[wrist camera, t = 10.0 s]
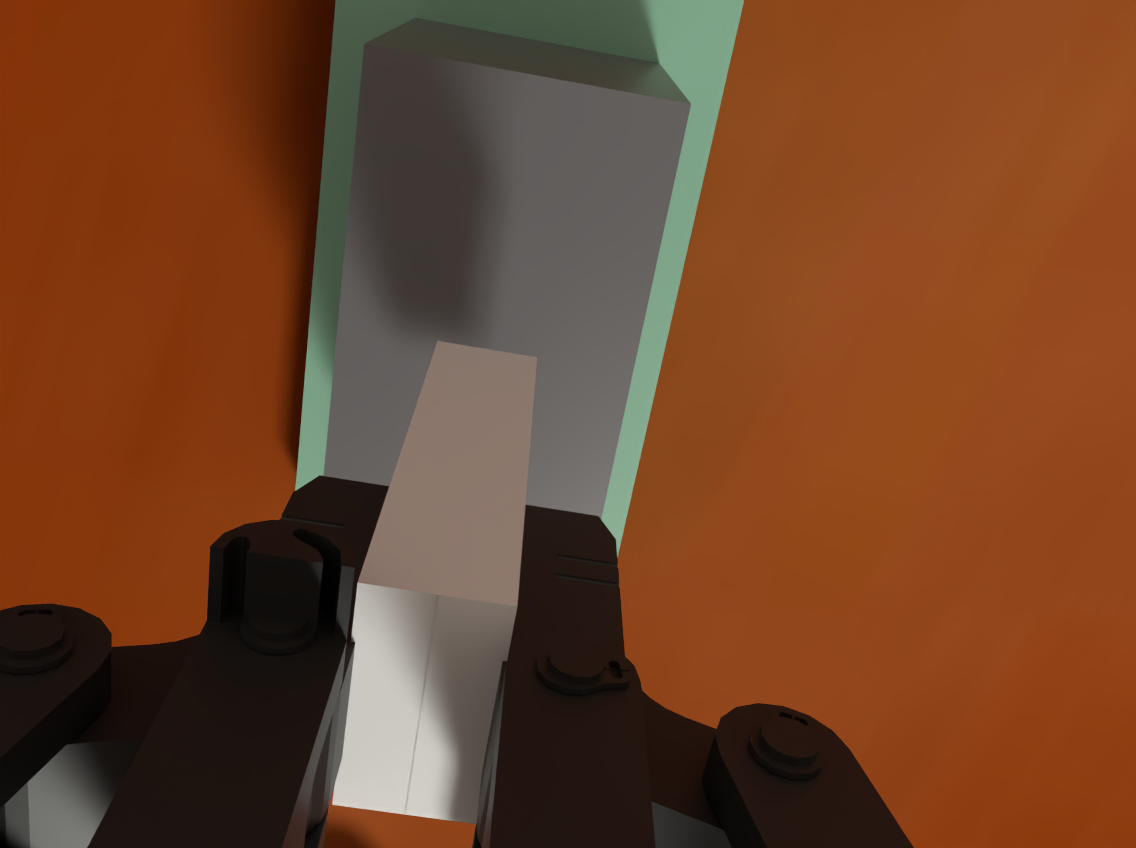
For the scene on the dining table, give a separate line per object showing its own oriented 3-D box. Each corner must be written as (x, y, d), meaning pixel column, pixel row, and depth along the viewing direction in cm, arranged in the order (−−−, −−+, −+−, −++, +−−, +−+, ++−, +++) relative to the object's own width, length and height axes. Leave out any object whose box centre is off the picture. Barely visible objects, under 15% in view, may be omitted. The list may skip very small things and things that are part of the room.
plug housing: (545, 628, 28) (540, 798, 22) (350, 600, 27) (295, 766, 22) (659, 63, 22) (691, 103, 16) (415, 17, 22) (364, 43, 16)
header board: (306, 495, 28) (255, 604, 23) (357, -102, 22) (303, -112, 17) (611, 541, 28) (620, 657, 24) (738, -28, 23) (782, -19, 18)
